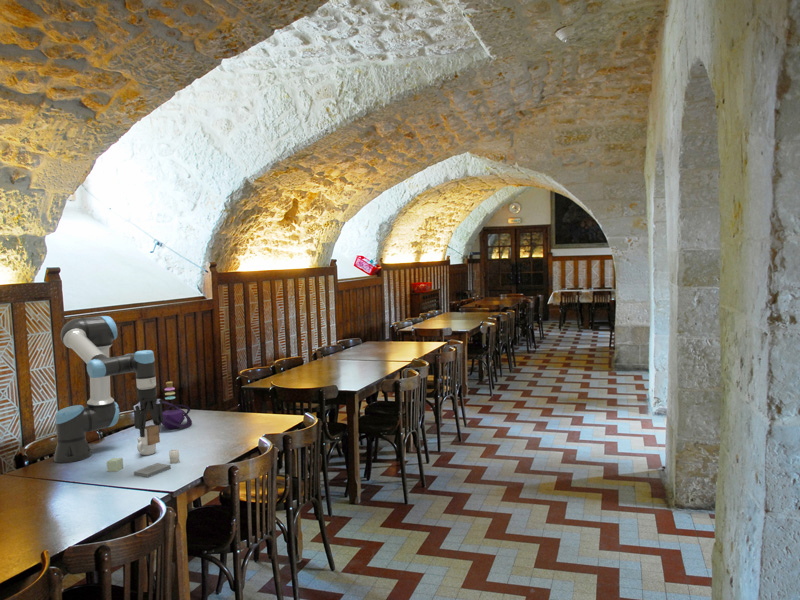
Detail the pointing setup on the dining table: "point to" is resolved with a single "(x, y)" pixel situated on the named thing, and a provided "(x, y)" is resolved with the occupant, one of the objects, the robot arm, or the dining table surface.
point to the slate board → (152, 470)
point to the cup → (145, 448)
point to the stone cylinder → (174, 456)
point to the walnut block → (152, 434)
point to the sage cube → (114, 464)
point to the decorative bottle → (174, 412)
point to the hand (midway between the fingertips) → (150, 442)
